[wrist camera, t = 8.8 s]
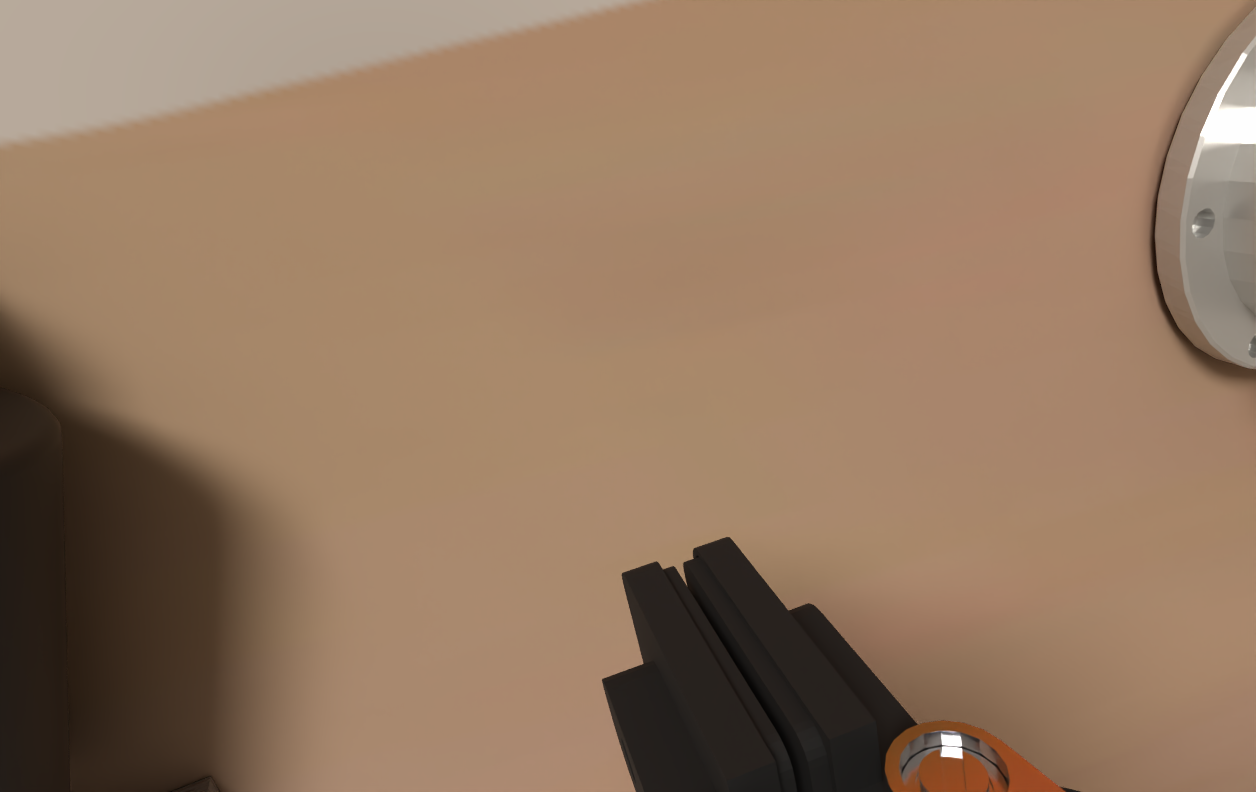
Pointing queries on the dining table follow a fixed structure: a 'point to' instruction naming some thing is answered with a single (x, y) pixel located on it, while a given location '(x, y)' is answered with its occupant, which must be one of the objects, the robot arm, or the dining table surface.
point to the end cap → (32, 600)
